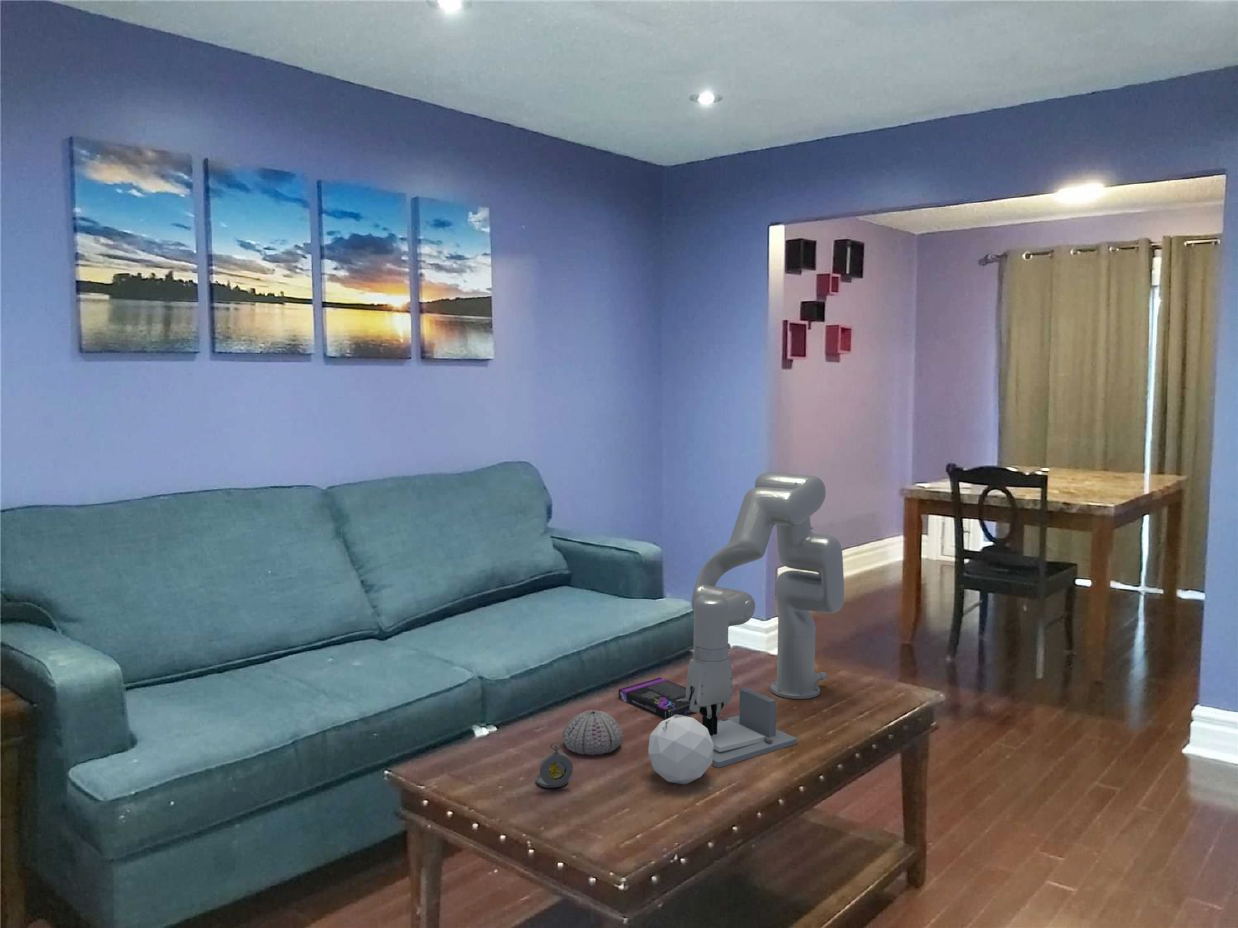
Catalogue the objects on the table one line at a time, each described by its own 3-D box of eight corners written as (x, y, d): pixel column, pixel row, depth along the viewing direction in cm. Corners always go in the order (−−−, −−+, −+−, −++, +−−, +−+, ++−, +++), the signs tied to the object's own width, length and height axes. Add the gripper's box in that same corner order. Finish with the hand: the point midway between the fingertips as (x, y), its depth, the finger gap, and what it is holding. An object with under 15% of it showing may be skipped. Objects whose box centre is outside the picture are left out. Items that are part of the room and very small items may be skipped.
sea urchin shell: (617, 761, 203) (617, 725, 202) (555, 757, 206) (555, 721, 205) (627, 737, 216) (627, 703, 215) (569, 733, 219) (568, 699, 218)
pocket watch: (551, 772, 198) (551, 725, 196) (582, 783, 192) (582, 736, 191) (523, 785, 191) (523, 737, 190) (554, 798, 186) (554, 748, 185)
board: (743, 718, 228) (744, 680, 227) (797, 743, 213) (798, 703, 212) (666, 739, 215) (666, 699, 214) (718, 767, 200) (718, 724, 199)
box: (618, 702, 241) (668, 723, 226) (617, 688, 241) (668, 709, 226) (660, 689, 250) (711, 709, 234) (659, 676, 249) (711, 695, 234)
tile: (685, 729, 214) (685, 733, 214) (720, 747, 204) (719, 752, 204) (729, 719, 221) (729, 724, 221) (764, 736, 211) (764, 741, 211)
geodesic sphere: (676, 778, 182) (702, 711, 187) (621, 759, 191) (648, 695, 196) (710, 801, 191) (734, 737, 196) (657, 782, 200) (681, 720, 205)
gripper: (725, 642, 215) (724, 720, 217) (673, 653, 207) (672, 735, 209) (748, 650, 209) (746, 731, 211) (694, 663, 201) (693, 746, 203)
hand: (709, 732), depth 210 cm, fingers closed
